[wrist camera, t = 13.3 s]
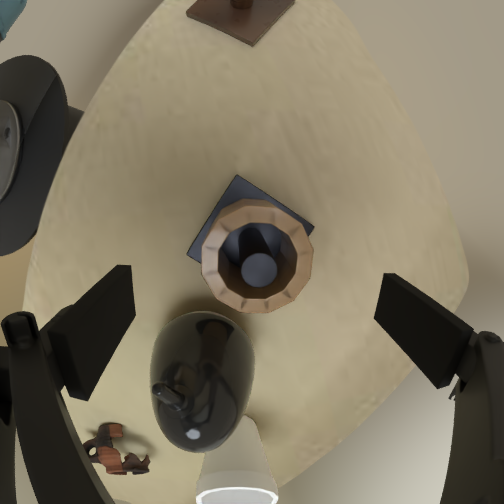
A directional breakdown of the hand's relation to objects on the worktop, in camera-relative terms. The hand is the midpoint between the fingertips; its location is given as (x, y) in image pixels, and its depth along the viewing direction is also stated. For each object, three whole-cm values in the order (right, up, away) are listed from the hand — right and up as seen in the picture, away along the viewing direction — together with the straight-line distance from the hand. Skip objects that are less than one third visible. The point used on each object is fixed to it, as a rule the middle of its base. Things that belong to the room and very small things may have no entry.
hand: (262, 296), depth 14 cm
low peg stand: (-2, +28, +8) cm, 30 cm away
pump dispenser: (-6, -7, +17) cm, 19 cm away
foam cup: (-3, -23, +21) cm, 31 cm away
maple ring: (-1, +3, +13) cm, 14 cm away
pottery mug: (-23, -29, +21) cm, 43 cm away
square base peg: (-1, +4, +14) cm, 15 cm away
